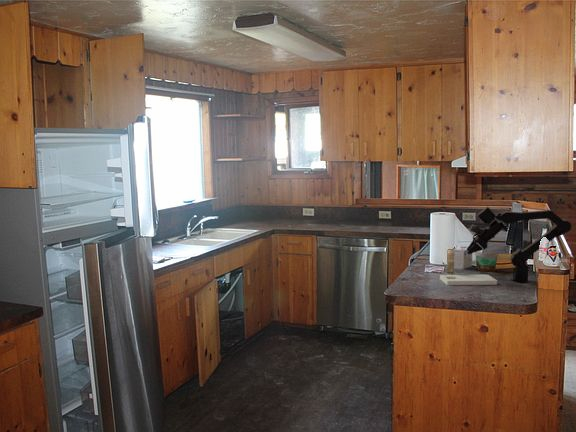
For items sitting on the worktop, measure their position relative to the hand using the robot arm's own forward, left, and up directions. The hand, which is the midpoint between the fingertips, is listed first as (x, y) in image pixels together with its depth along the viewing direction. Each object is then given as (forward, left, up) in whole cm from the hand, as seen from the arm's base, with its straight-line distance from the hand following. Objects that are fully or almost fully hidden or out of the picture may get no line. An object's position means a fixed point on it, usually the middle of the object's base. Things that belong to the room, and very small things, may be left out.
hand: (467, 251), depth 266 cm
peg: (+5, +7, -13) cm, 16 cm away
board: (-6, +4, -13) cm, 16 cm away
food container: (+9, -20, -14) cm, 26 cm away
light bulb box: (+21, -14, -14) cm, 29 cm away
